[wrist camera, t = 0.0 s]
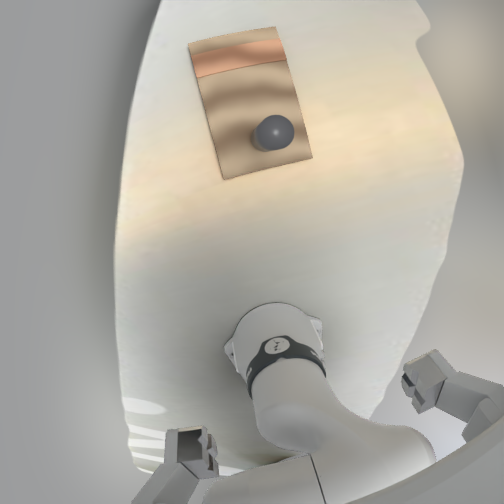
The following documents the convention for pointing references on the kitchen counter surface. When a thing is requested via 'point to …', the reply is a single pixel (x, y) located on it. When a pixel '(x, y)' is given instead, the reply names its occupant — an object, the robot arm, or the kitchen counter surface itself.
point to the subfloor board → (247, 98)
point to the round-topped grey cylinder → (272, 134)
